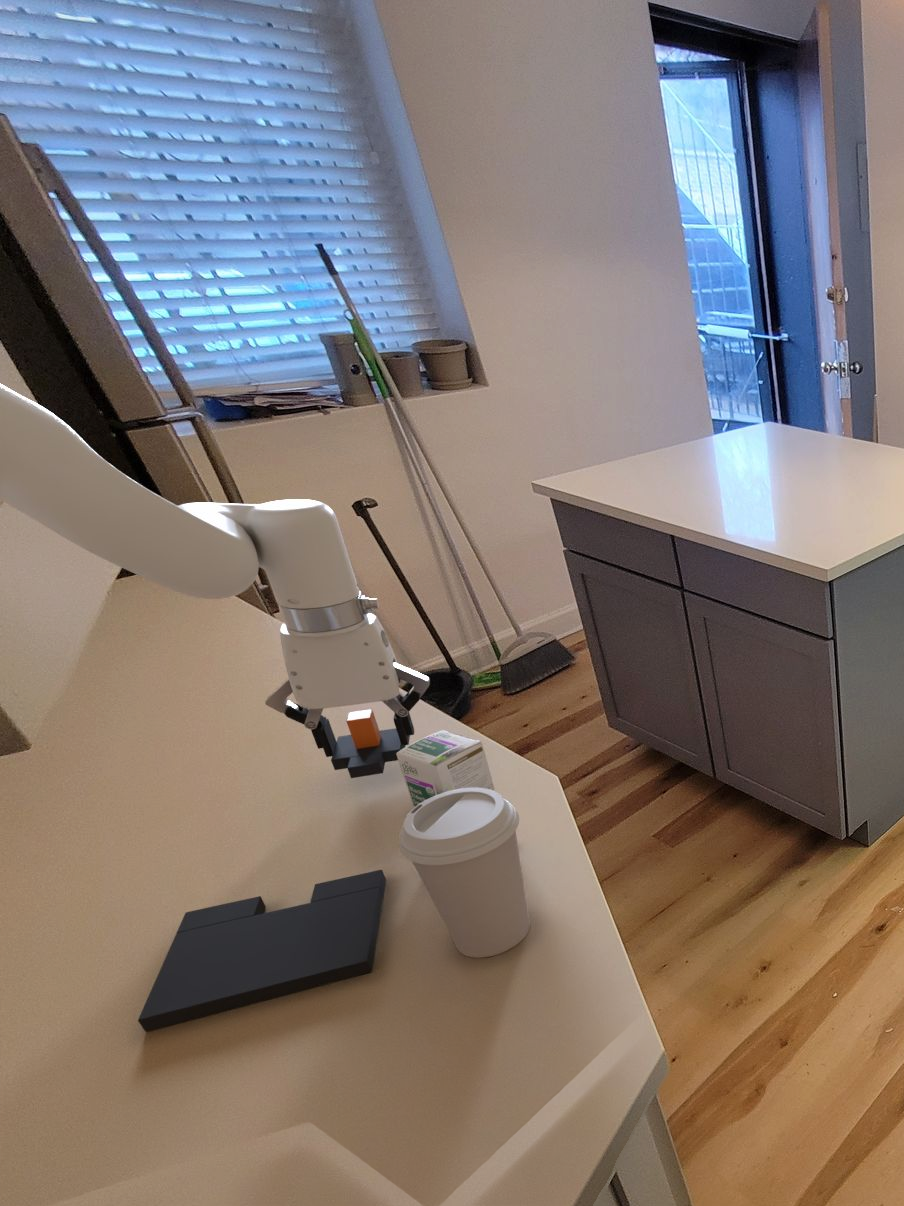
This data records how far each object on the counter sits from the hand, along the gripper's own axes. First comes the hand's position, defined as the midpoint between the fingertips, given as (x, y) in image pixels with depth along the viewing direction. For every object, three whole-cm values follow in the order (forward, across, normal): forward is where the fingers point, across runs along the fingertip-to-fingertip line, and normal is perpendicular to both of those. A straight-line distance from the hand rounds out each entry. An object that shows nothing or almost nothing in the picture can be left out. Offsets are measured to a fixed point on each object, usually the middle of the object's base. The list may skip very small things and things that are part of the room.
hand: (369, 744), depth 98 cm
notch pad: (+5, +5, +30) cm, 31 cm away
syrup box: (+5, -11, +22) cm, 25 cm away
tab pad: (+1, 0, +1) cm, 2 cm away
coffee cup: (+5, -13, +36) cm, 38 cm away
